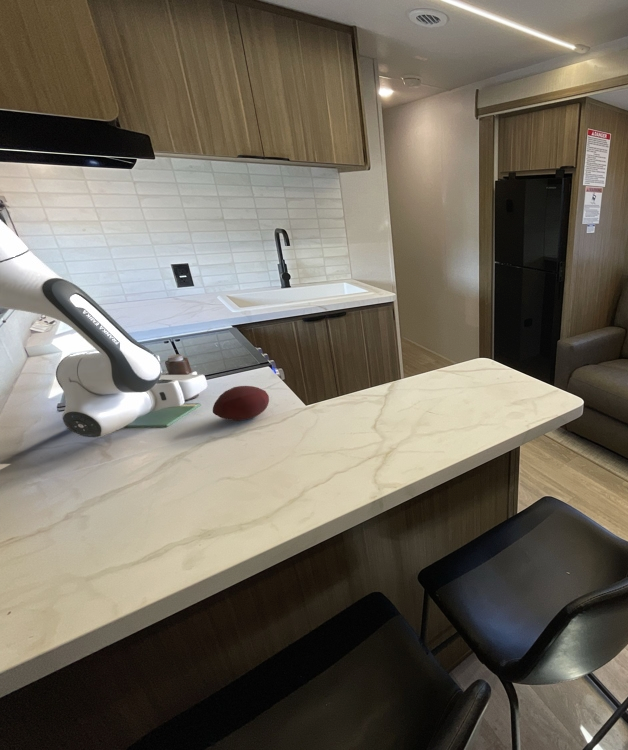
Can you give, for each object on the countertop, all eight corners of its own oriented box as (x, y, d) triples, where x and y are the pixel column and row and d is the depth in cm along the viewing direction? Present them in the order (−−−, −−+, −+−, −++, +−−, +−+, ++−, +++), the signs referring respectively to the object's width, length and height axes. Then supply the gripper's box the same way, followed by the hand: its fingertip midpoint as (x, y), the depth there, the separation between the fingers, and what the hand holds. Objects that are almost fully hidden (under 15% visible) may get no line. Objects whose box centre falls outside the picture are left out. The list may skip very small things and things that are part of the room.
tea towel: (109, 427, 97) (108, 425, 97) (149, 405, 108) (148, 403, 108) (167, 426, 97) (166, 424, 97) (201, 405, 109) (200, 402, 108)
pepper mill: (172, 401, 111) (158, 359, 106) (185, 393, 115) (172, 353, 111) (190, 400, 111) (177, 359, 106) (203, 393, 115) (190, 353, 111)
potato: (282, 410, 105) (275, 381, 102) (248, 431, 95) (239, 399, 92) (245, 406, 108) (237, 377, 104) (208, 426, 97) (199, 395, 94)
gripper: (105, 406, 100) (149, 385, 113) (187, 405, 100) (222, 384, 113) (95, 383, 97) (142, 364, 110) (179, 382, 97) (216, 363, 110)
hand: (183, 374), depth 111 cm, fingers closed on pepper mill, 5 cm apart
